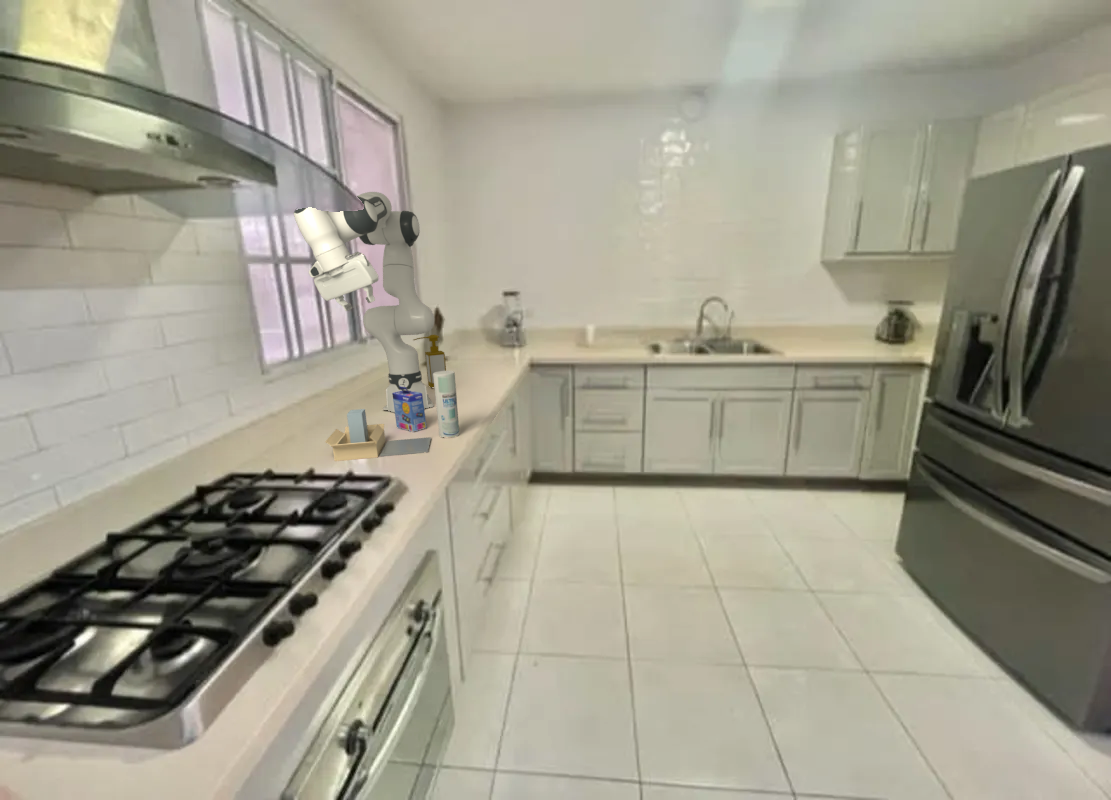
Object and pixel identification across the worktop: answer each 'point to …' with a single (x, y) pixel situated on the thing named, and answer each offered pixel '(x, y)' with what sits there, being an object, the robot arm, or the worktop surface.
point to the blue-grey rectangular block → (357, 426)
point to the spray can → (446, 403)
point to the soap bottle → (434, 359)
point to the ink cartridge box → (409, 410)
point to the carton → (357, 444)
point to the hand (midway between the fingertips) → (360, 306)
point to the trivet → (406, 446)
